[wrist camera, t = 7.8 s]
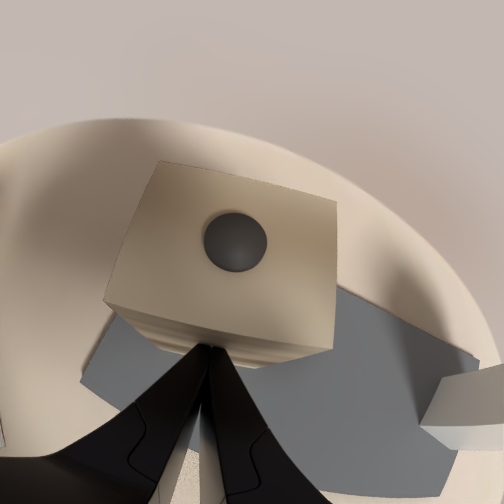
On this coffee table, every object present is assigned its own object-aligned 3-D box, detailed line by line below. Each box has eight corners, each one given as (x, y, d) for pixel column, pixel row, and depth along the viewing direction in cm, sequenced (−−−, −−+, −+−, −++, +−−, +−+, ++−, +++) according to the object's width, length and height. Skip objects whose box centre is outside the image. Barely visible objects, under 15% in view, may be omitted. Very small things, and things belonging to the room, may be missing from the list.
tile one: (254, 368, 14) (337, 347, 5) (159, 348, 13) (100, 297, 5) (265, 297, 15) (339, 197, 7) (177, 278, 15) (158, 155, 7)
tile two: (450, 449, 12) (549, 446, 4) (418, 425, 13) (535, 419, 5) (470, 405, 14) (564, 386, 6) (442, 377, 15) (548, 348, 7)
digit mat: (83, 382, 12) (79, 381, 11) (185, 216, 17) (185, 210, 17) (434, 495, 11) (439, 496, 10) (474, 361, 16) (479, 360, 16)
